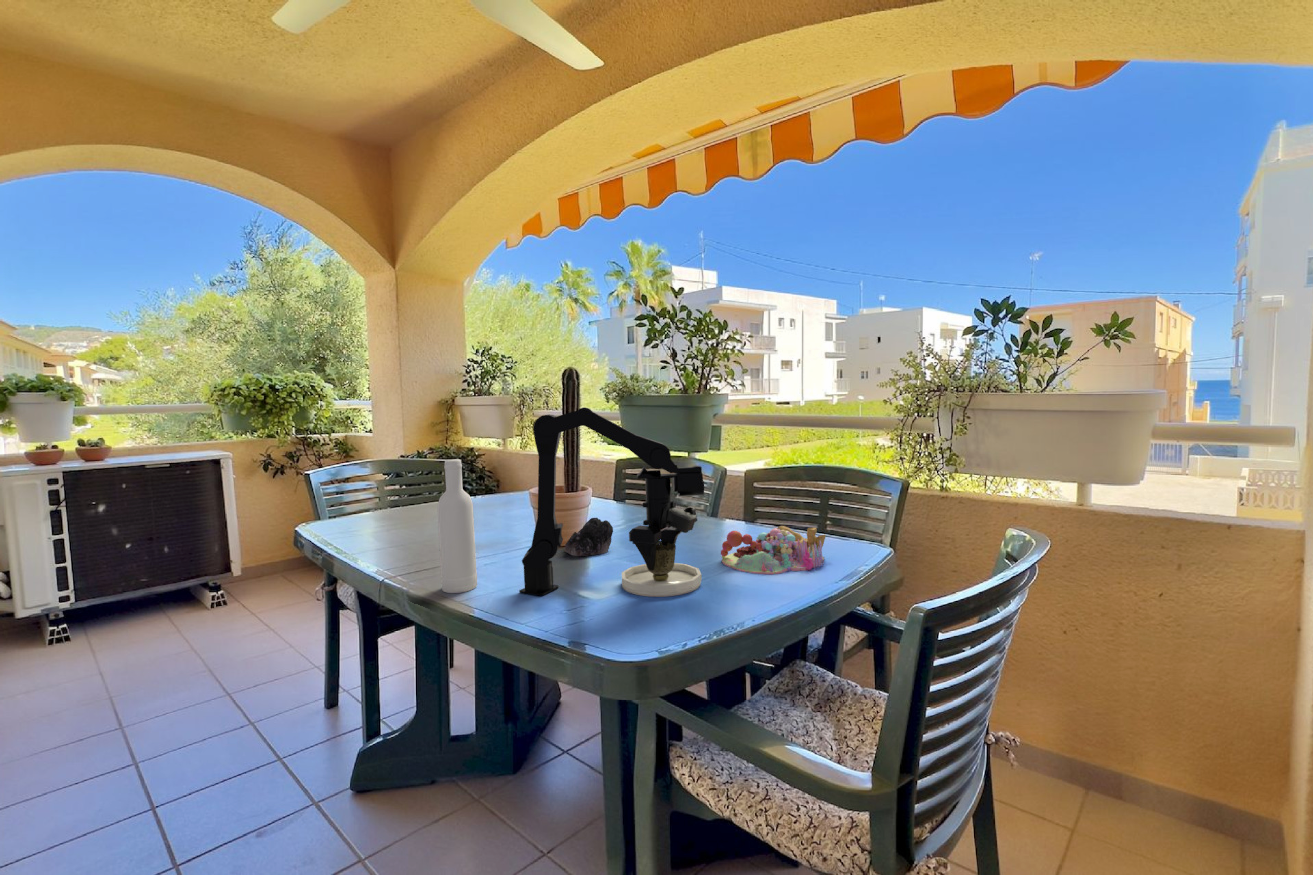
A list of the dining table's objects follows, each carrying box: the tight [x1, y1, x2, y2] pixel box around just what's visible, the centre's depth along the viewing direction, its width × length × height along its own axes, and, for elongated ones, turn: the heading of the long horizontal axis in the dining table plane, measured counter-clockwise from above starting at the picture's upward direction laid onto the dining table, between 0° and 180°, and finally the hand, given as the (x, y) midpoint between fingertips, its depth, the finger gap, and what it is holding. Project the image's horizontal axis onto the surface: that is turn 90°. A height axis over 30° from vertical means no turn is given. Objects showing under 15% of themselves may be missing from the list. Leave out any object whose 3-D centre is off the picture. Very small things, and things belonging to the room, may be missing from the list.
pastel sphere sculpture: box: [720, 525, 826, 575], centre depth 154 cm, size 25×24×9 cm
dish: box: [621, 562, 703, 598], centre depth 138 cm, size 18×18×2 cm
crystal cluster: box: [564, 517, 614, 557], centre depth 171 cm, size 14×14×10 cm
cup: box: [646, 542, 677, 581], centre depth 138 cm, size 8×7×8 cm
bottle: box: [436, 458, 478, 594], centre depth 139 cm, size 8×8×30 cm
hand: (660, 564), depth 138 cm, fingers open, 9 cm apart
